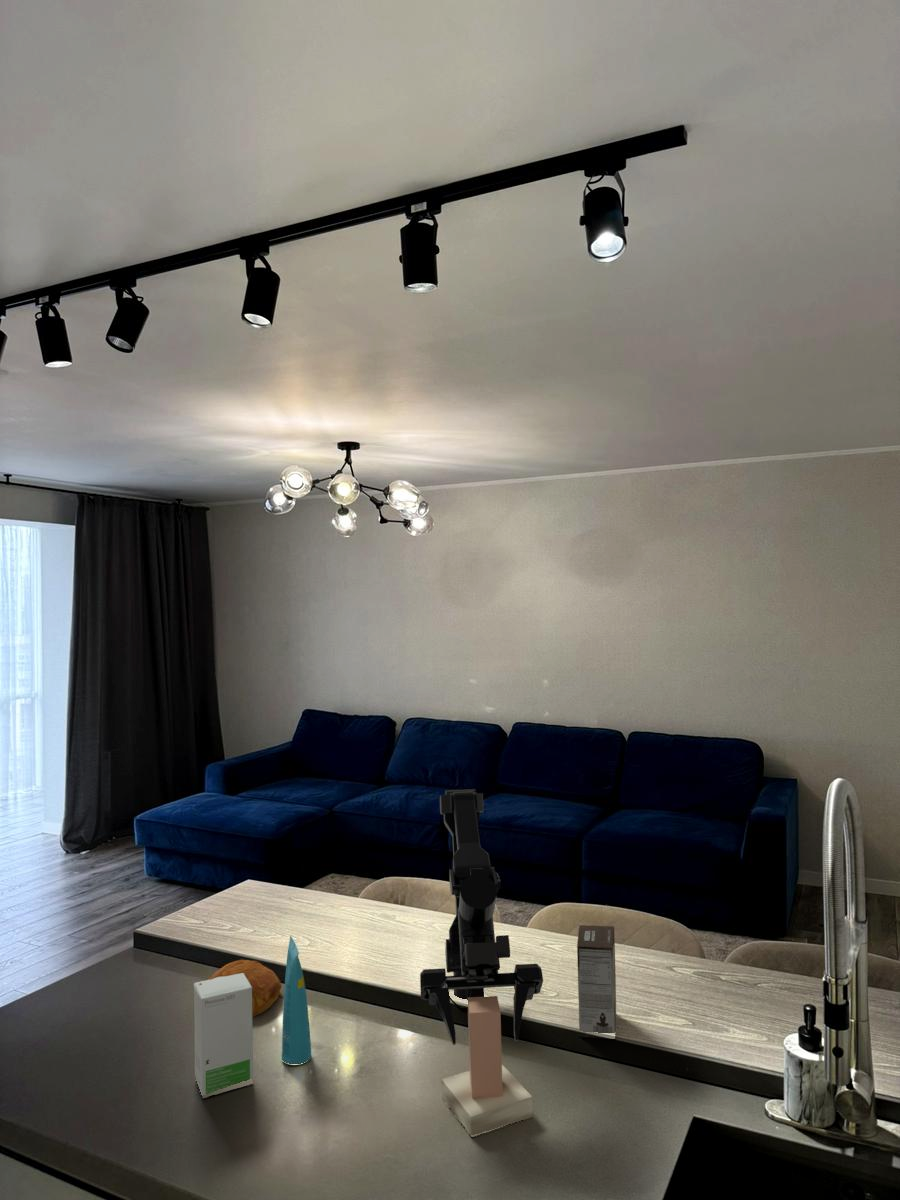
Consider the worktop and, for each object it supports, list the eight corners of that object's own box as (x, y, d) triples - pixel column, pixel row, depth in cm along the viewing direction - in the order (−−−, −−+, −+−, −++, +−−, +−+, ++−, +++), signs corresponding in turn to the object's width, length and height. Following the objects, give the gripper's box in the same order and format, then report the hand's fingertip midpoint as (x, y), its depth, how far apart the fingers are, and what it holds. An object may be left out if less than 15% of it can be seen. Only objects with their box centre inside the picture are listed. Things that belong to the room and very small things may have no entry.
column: (469, 1079, 122) (467, 997, 122) (499, 1077, 123) (497, 996, 123) (472, 1098, 118) (469, 1012, 118) (502, 1096, 118) (500, 1011, 118)
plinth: (442, 1098, 123) (441, 1079, 123) (499, 1080, 127) (499, 1061, 127) (471, 1138, 114) (470, 1117, 114) (532, 1116, 118) (532, 1096, 118)
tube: (317, 1065, 132) (313, 949, 132) (287, 1074, 130) (284, 955, 130) (304, 1043, 139) (301, 932, 139) (276, 1051, 137) (273, 938, 137)
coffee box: (580, 1011, 147) (578, 923, 147) (616, 1013, 146) (614, 925, 146) (578, 1038, 138) (576, 945, 138) (616, 1041, 137) (614, 947, 137)
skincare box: (201, 1101, 124) (198, 1000, 124) (193, 1078, 130) (190, 982, 129) (256, 1084, 128) (253, 986, 127) (246, 1063, 133) (243, 969, 133)
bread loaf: (187, 1026, 150) (180, 987, 149) (238, 977, 164) (233, 941, 163) (251, 1039, 144) (245, 998, 143) (298, 987, 158) (293, 949, 157)
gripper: (418, 918, 123) (421, 1028, 113) (539, 912, 125) (554, 1021, 114) (419, 946, 131) (422, 1052, 121) (532, 940, 132) (546, 1045, 122)
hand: (485, 1042), depth 119 cm, fingers open, 9 cm apart
